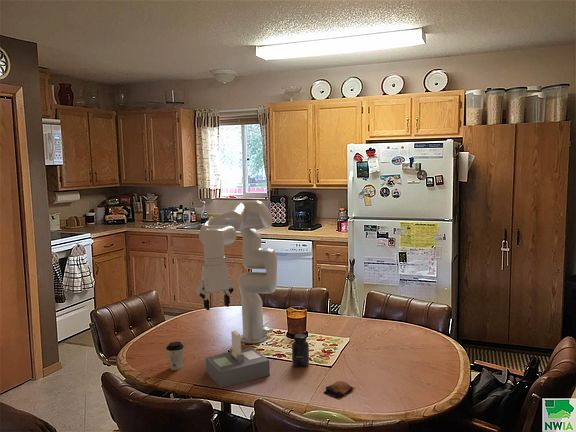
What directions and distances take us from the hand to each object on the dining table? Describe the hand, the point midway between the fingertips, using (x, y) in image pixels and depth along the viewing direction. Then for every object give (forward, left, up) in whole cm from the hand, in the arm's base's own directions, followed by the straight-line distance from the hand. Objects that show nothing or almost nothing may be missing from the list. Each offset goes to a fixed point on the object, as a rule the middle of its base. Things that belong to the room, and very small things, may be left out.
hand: (217, 307), depth 184 cm
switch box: (-7, 0, -28) cm, 29 cm away
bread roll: (-32, +33, -29) cm, 54 cm away
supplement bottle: (-32, +6, -28) cm, 43 cm away
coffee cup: (+12, -19, -28) cm, 36 cm away
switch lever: (-7, 0, -21) cm, 23 cm away
